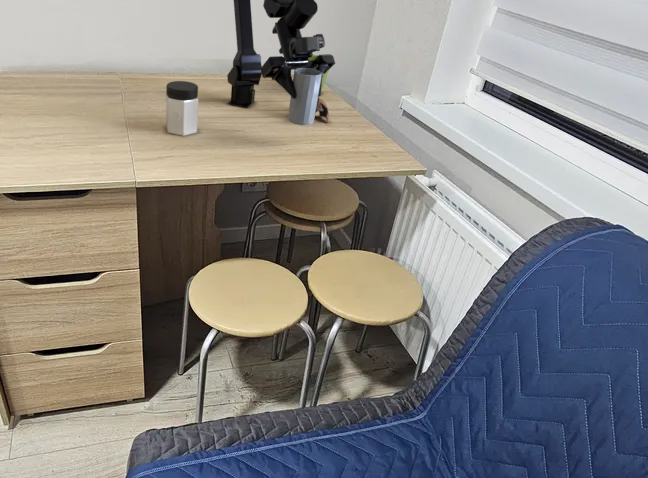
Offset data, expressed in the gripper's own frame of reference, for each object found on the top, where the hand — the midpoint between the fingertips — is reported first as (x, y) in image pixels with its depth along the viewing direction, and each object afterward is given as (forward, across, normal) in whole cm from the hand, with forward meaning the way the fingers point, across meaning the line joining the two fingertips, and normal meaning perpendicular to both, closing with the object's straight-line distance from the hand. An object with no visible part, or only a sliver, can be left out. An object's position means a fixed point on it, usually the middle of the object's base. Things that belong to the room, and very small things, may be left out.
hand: (307, 97), depth 129 cm
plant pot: (-19, +29, +38) cm, 52 cm away
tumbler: (+4, 0, +6) cm, 7 cm away
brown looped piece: (-3, +15, +22) cm, 27 cm away
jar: (-4, -26, +23) cm, 35 cm away
